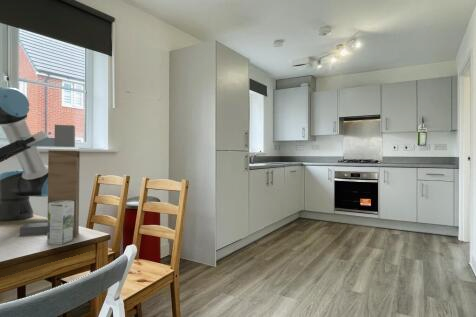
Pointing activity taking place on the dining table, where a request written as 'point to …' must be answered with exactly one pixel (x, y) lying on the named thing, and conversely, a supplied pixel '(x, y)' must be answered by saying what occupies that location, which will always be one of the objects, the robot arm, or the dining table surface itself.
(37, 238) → the dining table surface
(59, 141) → the mallet
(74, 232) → the stand
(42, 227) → the board
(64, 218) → the syrup box
